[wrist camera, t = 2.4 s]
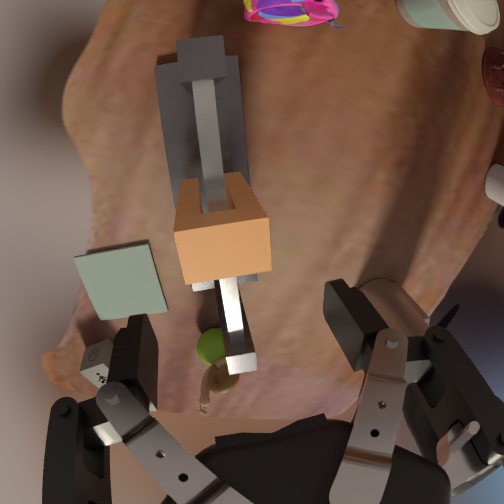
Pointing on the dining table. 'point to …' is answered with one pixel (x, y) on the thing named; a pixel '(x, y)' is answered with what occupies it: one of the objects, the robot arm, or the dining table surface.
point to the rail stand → (208, 158)
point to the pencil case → (292, 12)
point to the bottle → (495, 183)
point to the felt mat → (122, 282)
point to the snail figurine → (214, 366)
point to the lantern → (494, 75)
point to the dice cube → (97, 362)
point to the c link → (221, 233)
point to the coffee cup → (451, 14)
